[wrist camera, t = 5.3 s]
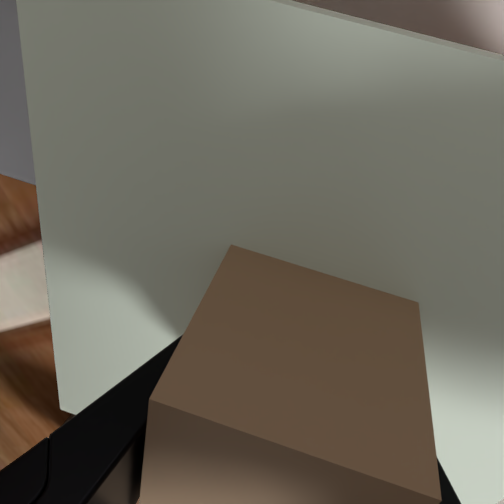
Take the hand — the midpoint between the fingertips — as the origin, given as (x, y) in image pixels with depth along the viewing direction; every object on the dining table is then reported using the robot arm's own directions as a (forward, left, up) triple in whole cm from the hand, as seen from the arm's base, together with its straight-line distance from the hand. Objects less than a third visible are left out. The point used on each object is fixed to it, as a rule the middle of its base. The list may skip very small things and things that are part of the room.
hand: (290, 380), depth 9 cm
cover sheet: (0, 0, -2) cm, 2 cm away
